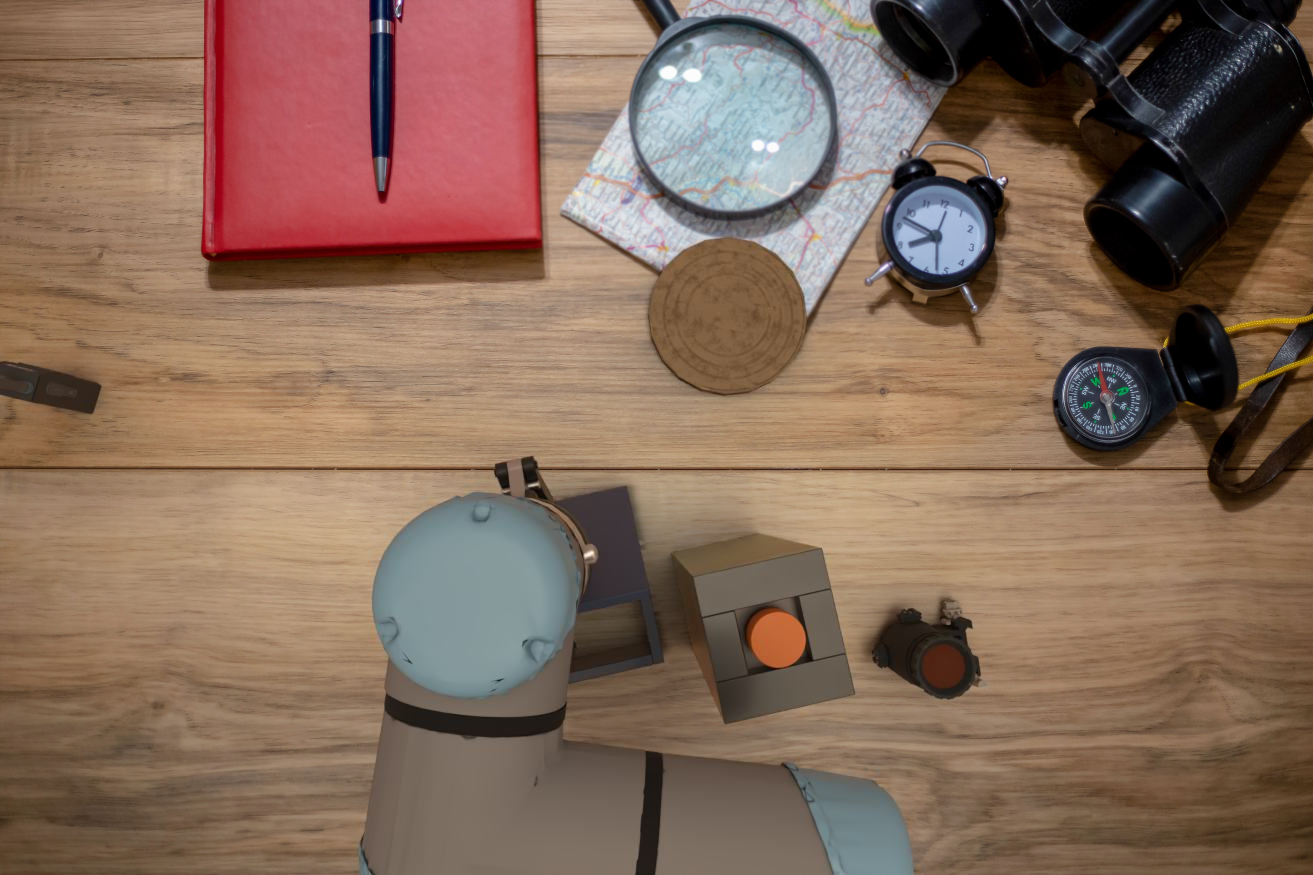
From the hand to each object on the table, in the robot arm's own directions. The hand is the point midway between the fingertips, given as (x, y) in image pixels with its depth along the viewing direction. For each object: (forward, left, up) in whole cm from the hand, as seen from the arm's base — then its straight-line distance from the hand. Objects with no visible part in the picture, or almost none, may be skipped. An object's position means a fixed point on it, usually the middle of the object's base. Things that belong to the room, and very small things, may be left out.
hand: (556, 546), depth 70 cm
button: (-9, -14, +11) cm, 20 cm away
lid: (-1, 0, -2) cm, 2 cm away
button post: (-9, -14, -18) cm, 25 cm away
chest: (-5, 0, -18) cm, 19 cm away
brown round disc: (+18, -20, -18) cm, 33 cm away
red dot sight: (-18, -31, -18) cm, 40 cm away
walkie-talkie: (+24, +45, -18) cm, 54 cm away
